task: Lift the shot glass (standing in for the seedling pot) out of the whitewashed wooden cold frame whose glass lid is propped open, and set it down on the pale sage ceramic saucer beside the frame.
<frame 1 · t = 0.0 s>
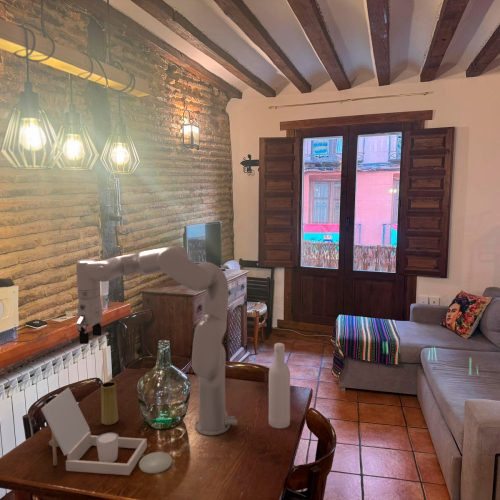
hand: (90, 339, 160), 31 cm above the table, fingers open, 9 cm apart
shot glass: (108, 459, 138), resting in cold frame
wine glass: (60, 441, 149), on the table
saucer: (155, 463, 135), on the table
vase: (110, 421, 162), on the table
cold frame: (108, 458, 138), on the table
bottle: (279, 423, 160), on the table
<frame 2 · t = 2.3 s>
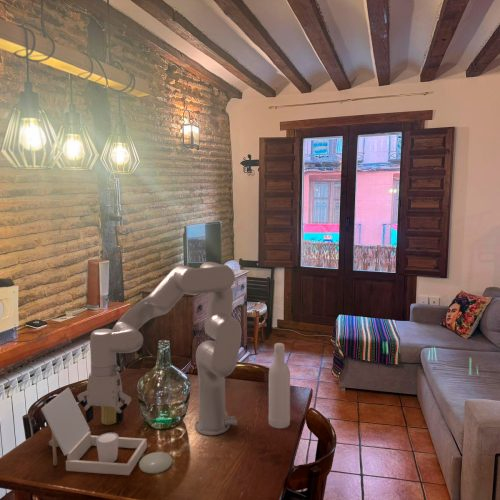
hand: (104, 421, 137), 12 cm above the table, fingers open, 9 cm apart
nothing on the table moved.
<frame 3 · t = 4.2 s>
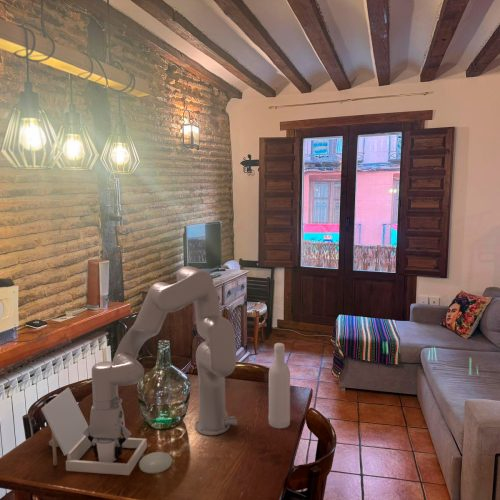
hand: (108, 455, 138), 1 cm above the table, fingers closed on shot glass, 6 cm apart
shot glass: (108, 459, 138), resting in cold frame, touching gripper
everything else where it was.
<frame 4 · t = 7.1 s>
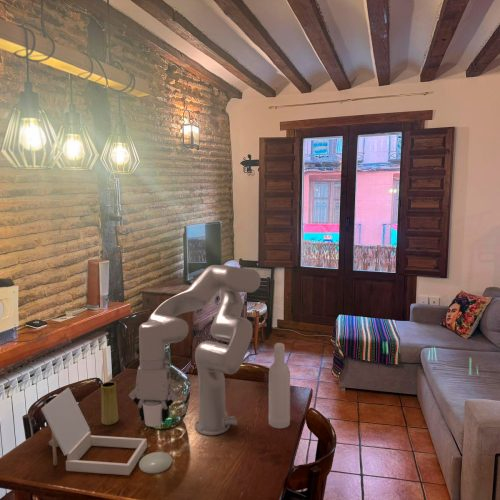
hand: (154, 418, 134), 15 cm above the table, fingers closed on shot glass, 6 cm apart
shot glass: (154, 422, 134), point 14 cm above the table, touching gripper
everything else where it was.
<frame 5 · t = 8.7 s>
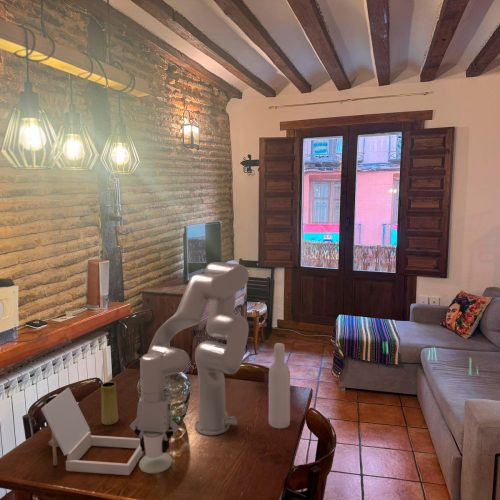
hand: (154, 449, 135), 5 cm above the table, fingers closed on shot glass, 6 cm apart
shot glass: (154, 453, 135), point 4 cm above the table, touching gripper
everything else where it was.
when the fingers open (3 cm above the table, at t = 10.0 s): shot glass drops 1 cm, resting on saucer.
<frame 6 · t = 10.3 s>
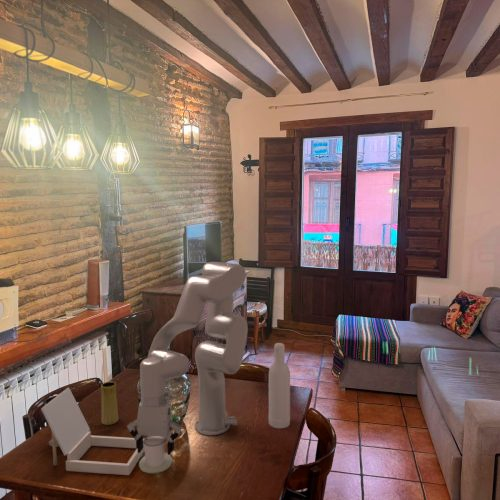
hand: (155, 451, 135), 4 cm above the table, fingers open, 9 cm apart
shot glass: (155, 461, 135), point 1 cm above the table, touching saucer
everything else where it was.
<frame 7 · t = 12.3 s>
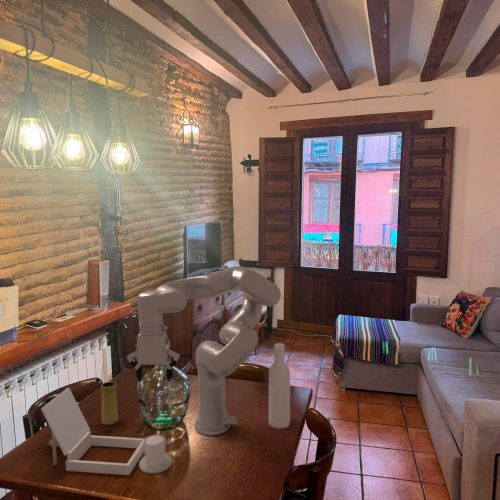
hand: (154, 379, 143), 23 cm above the table, fingers open, 9 cm apart
nothing on the table moved.
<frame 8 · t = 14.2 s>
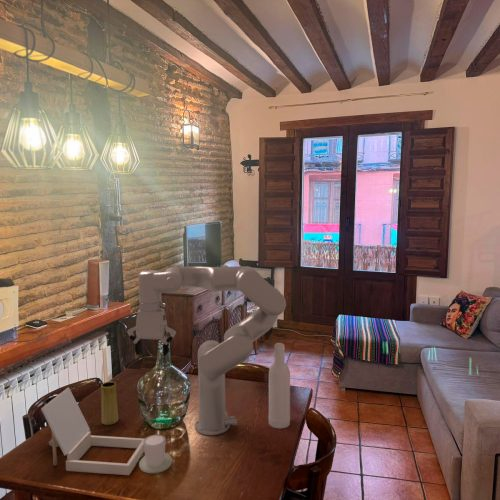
hand: (152, 354, 152), 28 cm above the table, fingers open, 9 cm apart
nothing on the table moved.
at the end: shot glass inside the target area on the saucer (0.2 cm from its centre), point 0.6 cm above the saucer's base; shot glass tilted 0°; the gripper is holding nothing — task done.
